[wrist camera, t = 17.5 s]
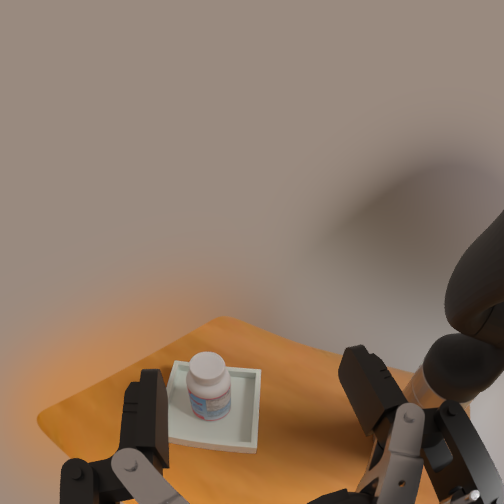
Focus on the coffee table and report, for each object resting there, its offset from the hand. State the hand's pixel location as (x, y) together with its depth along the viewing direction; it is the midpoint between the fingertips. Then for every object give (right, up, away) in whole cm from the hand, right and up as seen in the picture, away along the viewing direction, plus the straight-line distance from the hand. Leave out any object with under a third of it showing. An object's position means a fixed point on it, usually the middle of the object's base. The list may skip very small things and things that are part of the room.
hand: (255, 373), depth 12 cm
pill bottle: (-6, -19, +29) cm, 35 cm away
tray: (-6, -19, +29) cm, 36 cm away
